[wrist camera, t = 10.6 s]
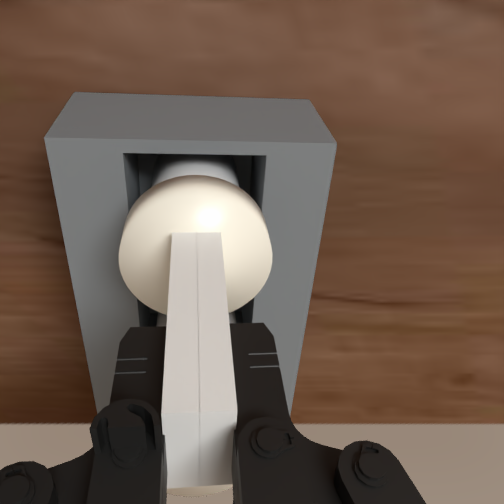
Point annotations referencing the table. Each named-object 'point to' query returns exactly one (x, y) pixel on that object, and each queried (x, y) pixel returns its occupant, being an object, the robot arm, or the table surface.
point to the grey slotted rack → (140, 180)
